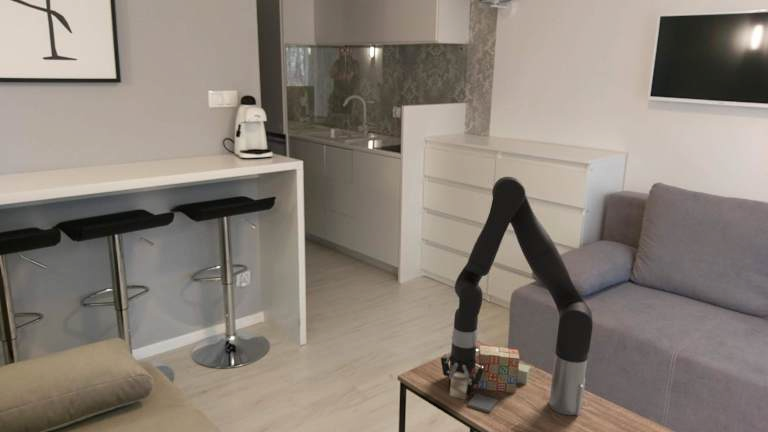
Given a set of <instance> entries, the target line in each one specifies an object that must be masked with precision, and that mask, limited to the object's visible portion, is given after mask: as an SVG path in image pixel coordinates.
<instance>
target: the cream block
mask: <svg viewBox="0 0 768 432" xmlns="http://www.w3.org/2000/svg"><path fill="white" fill-rule="evenodd" d="M467 386H468V380H467V378H466V377H465V374H464V373H462V372H456V373H455V374H454V376H452V377H451V386H450V387H449V396H451V397H455V398H458V399H461V400H464V401H465V400H466V399H467V398H468V397H469V395H467Z"/></svg>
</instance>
